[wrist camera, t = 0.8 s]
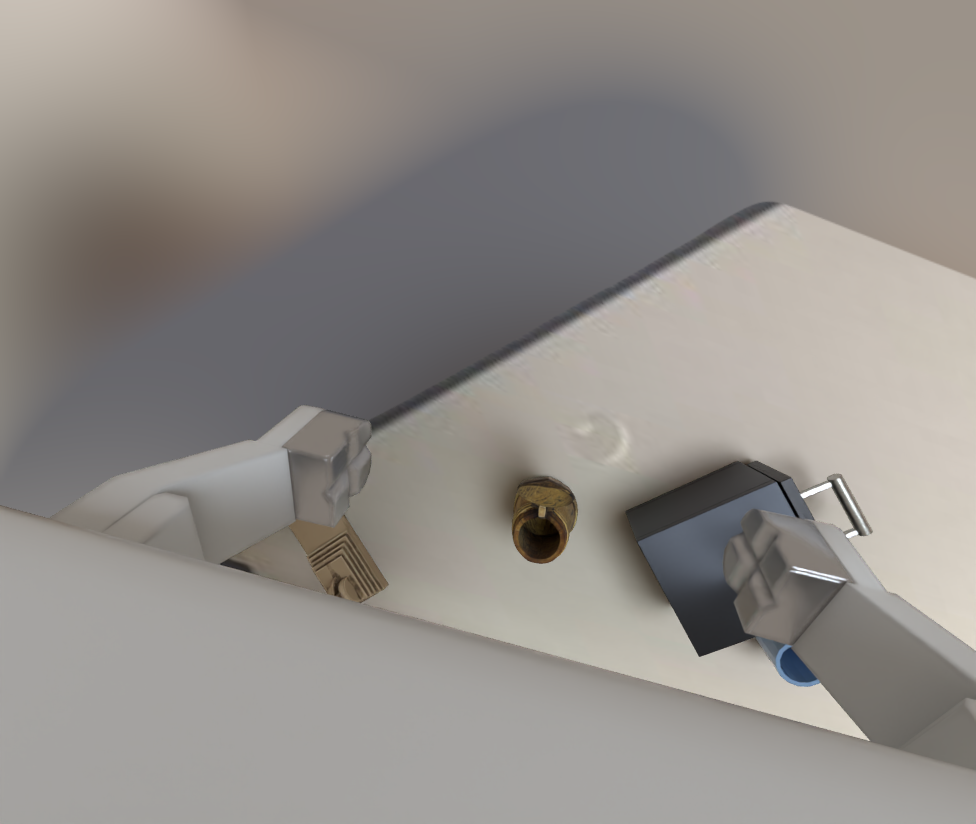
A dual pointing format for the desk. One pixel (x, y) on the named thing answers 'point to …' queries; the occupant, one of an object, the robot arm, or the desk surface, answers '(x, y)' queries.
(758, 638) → the cup
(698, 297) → the desk surface
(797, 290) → the desk surface
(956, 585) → the desk surface
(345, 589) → the banker's lamp
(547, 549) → the wooden mug
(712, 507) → the black box
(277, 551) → the desk surface
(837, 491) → the drawer
